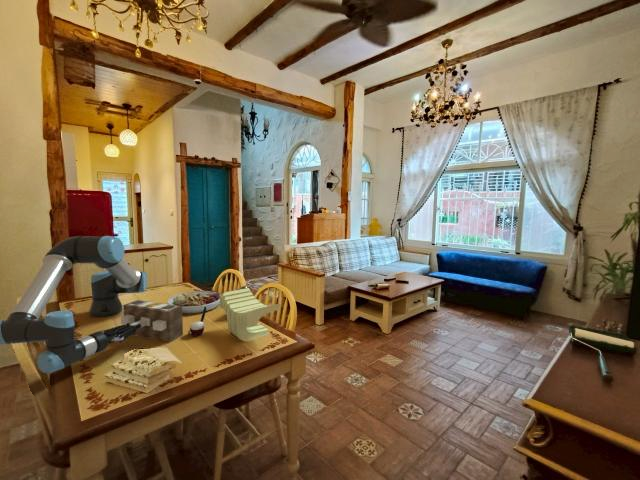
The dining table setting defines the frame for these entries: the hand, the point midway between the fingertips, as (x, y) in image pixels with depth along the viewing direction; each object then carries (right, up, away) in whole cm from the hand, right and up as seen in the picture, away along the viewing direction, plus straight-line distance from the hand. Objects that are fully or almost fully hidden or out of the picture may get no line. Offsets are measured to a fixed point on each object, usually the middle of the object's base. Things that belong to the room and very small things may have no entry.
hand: (144, 322), depth 135 cm
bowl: (+4, -3, +45) cm, 45 cm away
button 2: (+8, -2, -3) cm, 9 cm away
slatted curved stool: (+45, -8, +9) cm, 47 cm away
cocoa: (+21, -8, +7) cm, 24 cm away
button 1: (-9, -1, +2) cm, 9 cm away
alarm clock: (+35, -5, +35) cm, 50 cm away
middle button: (0, -1, +2) cm, 2 cm away
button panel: (+1, -7, +6) cm, 9 cm away
